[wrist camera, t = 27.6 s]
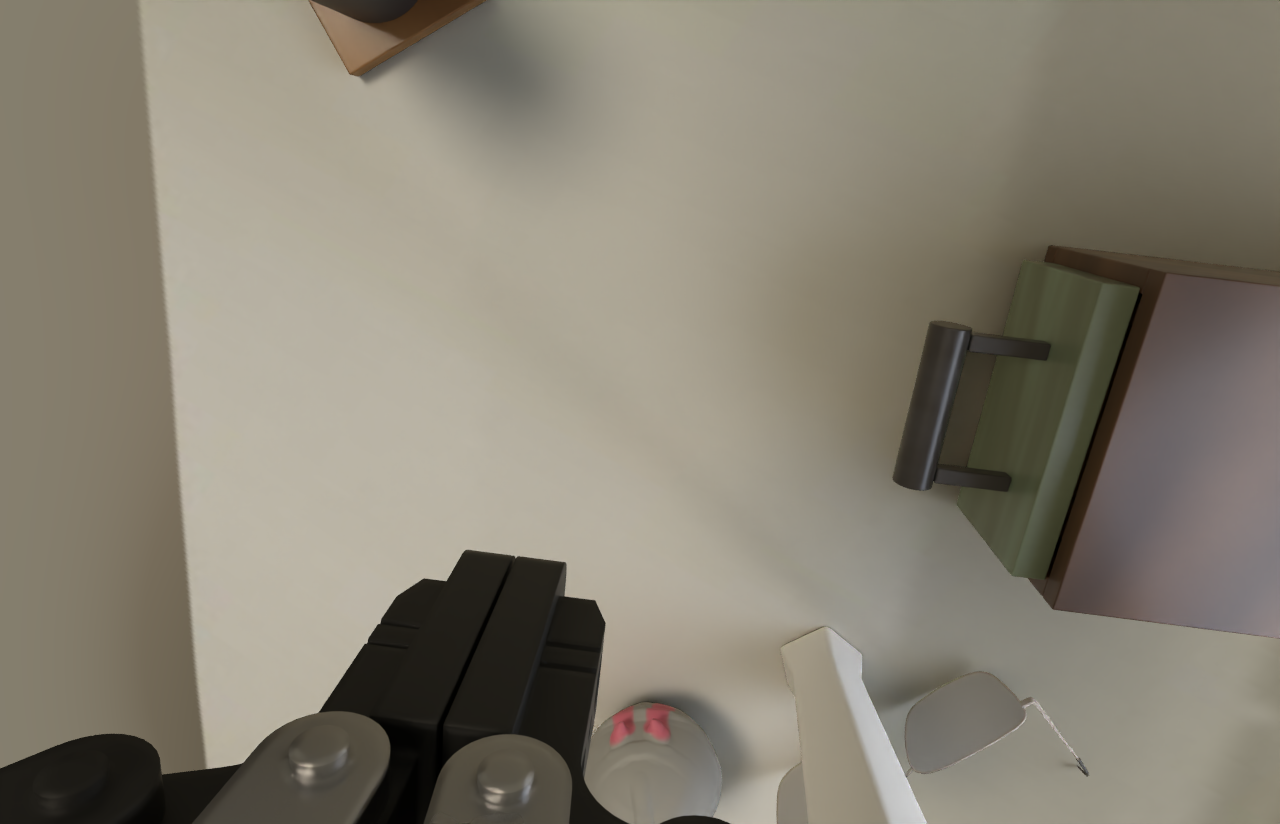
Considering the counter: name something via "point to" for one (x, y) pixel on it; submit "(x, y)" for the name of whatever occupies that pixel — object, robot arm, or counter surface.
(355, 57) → the coaster
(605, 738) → the figurine
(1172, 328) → the cabinet
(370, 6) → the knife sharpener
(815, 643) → the perfume bottle
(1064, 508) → the drawer
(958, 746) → the eyeglasses
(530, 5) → the counter surface
